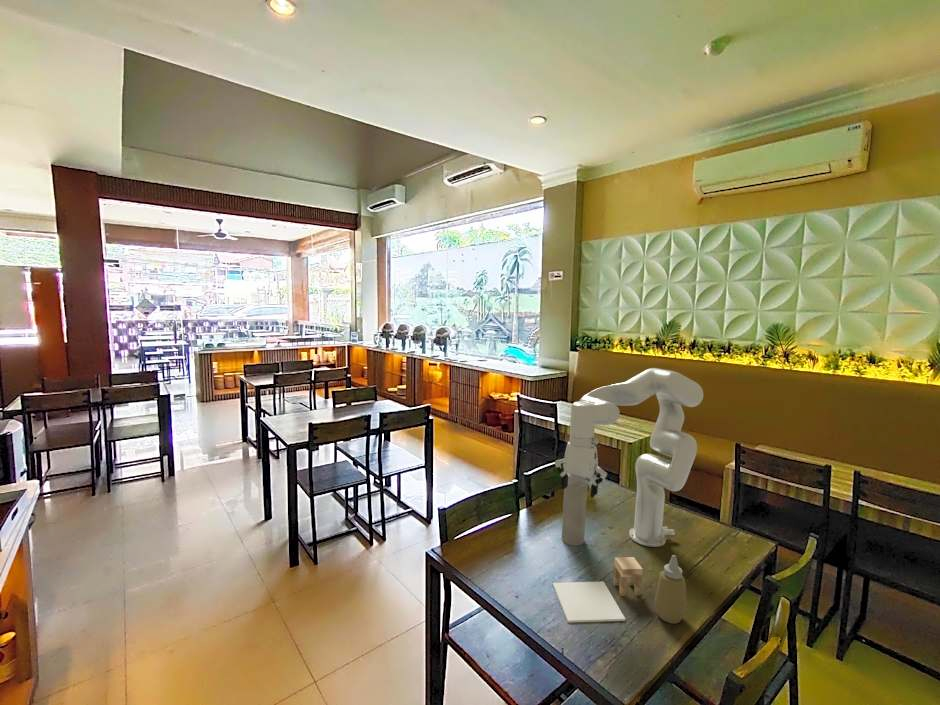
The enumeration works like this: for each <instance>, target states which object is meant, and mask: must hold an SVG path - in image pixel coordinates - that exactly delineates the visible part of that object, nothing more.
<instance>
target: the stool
mask: <svg viewBox="0 0 940 705" xmlns="http://www.w3.org/2000/svg"><path fill="white" fill-rule="evenodd" d="M612 578H613V580H612V583H613V586H614V587H618V589H619V590H618V594H619V595H620V596H621V597H627V596H626V593H627V585H628V586H631V587H633V588H634V589H633V593H634V595H635V596H640V597H641V594H642V593H641V592H642V583H643V582H642V581H643V568H642V566H641V565H640V564H639V562H638V560H636V558H635V557H634V556H625V557H624V556H619V557H616V556H615V557H614V564H613V577H612Z"/></svg>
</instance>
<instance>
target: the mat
mask: <svg viewBox="0 0 940 705" xmlns="http://www.w3.org/2000/svg"><path fill="white" fill-rule="evenodd" d="M552 586H553V589H554V591H555V593H556V596H557V599H558V601H559V604H560V606H561V609H562V612H563V615H564V616H565V619H566V622H567V623H570V624H572V623H597V622H602V623H604V622H626V617H625V615H624V614H623V613H622V610H621V609H620V607H619V606H618V604H617V602H616V600H615V599H614V597H613V595H612V593H611V592H610V589H609V588H608V587H607V585H606V583H605V582H604V581H579V582H578V581H575V582H573V581H570V582H552Z"/></svg>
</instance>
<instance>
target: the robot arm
mask: <svg viewBox="0 0 940 705" xmlns="http://www.w3.org/2000/svg"><path fill="white" fill-rule="evenodd" d="M654 395H655V396H656V399H657V401H658V405H659V413H658V416H657V419H656V422H655V425H654V427H653V430H652V433H651V435H650V439H649V447H650V448H651V449H652V450H653V451H655V452H658V453H659V454H662V455H665V456H667V457H670V458H671V460H668V459H667V458H664V457H661V456H659V455H657V454H653V453H643V454H641V455H639V456H638V457H637V459H636V461H635V468H634V469H635V476H636V497H635V510H634V522H633V524H634V525H633V527H632V528H630V529H629V530H628V531H629V532H628V534H629V537H630V539H631V540H632V541H634V542H635V543H637V544H639V545H642V546H645V547H651V548H659V547H662V546H664V545H665V544H666V541H667V539H666V538H667V535H668V536H674V535H675V534H676V532H675V529H673V528H669V527H668V526H663V522H664V509H665V500H666V499H665V497H666V494H665V493H666V492H665V489H666V490H668V491H671V492H679V491H680V490H681V489H682V488H683V487H684V486H685V484H686V482H687V480H688V477H689V474H690V473H691V469H692V466H693V464H694V462H695V458H696V457H697V456H696V455H697V451H698V444H697V440H696V439H695V437H693V436H692V435H690V434H689V433H686V432H683V431H682V427H683V424H684V422H685V413H684V409H683V407H682V406H684V407H689V408H695V407H697V406H699V405H700V404H701V402H702V401H703V399H704V390H703V388H702V386H701V385H700V384H699V383H698V382H696V381H694V380H692V379H691V378H689V377H687V376H685V375H683V374H682V373H680V372H677V371H674V370H669V369H663V368H658V367H651V368H647V369H645V370H643V371H642V372H639V373H637V374H636V375H635V376H633V377H631V378H629V379H627V380H626V381H623V382H619V383H615V384H611V385H605V386H601V387H599V388H595V389H594V390H591V391H590V392H588V393H586V394H584V395H583V396H582V397H581V398H580V399H579V401H575V402H573V403H572V404H571V406H570V421H569V422H570V424H569V441H568V442H567V444H566V448H565V453H564V458H561V459H556V460H555V461H554V466H555V467H556V471H557V472H558V473H559V476H560V477H561V478H560V479H561V480H560V485H561V489H562V490H564V489H565V488H566V487H567V486H568V475H567V473H569V474H573V475H577V476H580V477H584V478H586V479H589V481H590V482H591V483H592V484H591V485H590V498H594V497H595V496H596V495H597V494H598V492H599V491H598V490H599V484H601V483H602V482H603V481H604V480H605V479H606V477H607V476H608V472H606V471H605V470H604V469H602V467H600V466H599V461H598V460H599V459H598V449H597V445H598V444H599V440H598V439H596V438H595V437H596V436H595V428H596V427H595V426H597V425H599V426H609V425H613V424H615V423H616V422H617V421H618V420H619V417H620V409H619V407H618V406H623V407H624V406H625V407H626V406H636V405H639V404H642V403H643V402H644V401H646V400H647V399H649V398H650V397H653V396H654ZM561 464H563V466H562V465H561ZM598 474H599V475H600V477H598V476H597V475H598Z"/></svg>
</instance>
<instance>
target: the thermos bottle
mask: <svg viewBox="0 0 940 705" xmlns="http://www.w3.org/2000/svg"><path fill="white" fill-rule="evenodd" d="M567 475H568V486H567V487H566V488H565V489H563V504H562V506H563V507H562V524H561V525H562V526H561V540H562V541H563V543H565V544H567V545H570V546H581V545H583V544H584V542H585V531H586V518H587V516H586V512H587V500H588V499H587V495H588V480H587V478H584V477H580V476H577V475H573V474H569V473H567Z"/></svg>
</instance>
